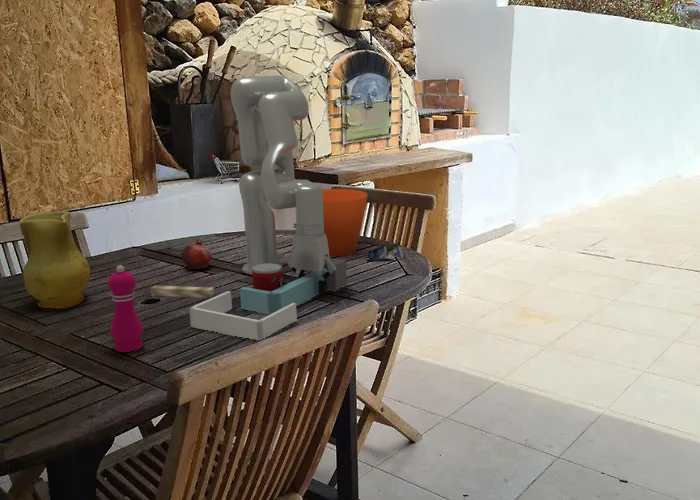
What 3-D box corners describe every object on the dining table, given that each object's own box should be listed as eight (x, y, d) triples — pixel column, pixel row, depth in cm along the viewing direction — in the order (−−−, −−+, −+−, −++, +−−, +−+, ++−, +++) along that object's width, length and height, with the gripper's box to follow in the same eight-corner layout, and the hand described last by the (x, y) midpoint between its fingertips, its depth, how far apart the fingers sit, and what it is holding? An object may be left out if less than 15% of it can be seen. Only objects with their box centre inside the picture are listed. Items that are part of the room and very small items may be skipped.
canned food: (276, 312, 185) (274, 272, 183) (249, 309, 188) (246, 270, 185) (287, 302, 192) (286, 264, 190) (261, 300, 195) (259, 262, 192)
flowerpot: (346, 264, 229) (345, 204, 224) (283, 255, 241) (280, 198, 235) (381, 246, 250) (380, 191, 245) (321, 239, 262) (319, 186, 256)
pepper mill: (116, 342, 167) (107, 261, 162) (147, 341, 167) (139, 260, 162) (109, 354, 160) (99, 270, 155) (141, 353, 160) (132, 269, 155)
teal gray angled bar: (303, 279, 213) (302, 254, 211) (346, 286, 205) (345, 260, 203) (241, 309, 188) (239, 281, 186) (287, 318, 180) (285, 289, 178)
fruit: (177, 271, 225) (174, 240, 222) (194, 263, 233) (192, 234, 231) (201, 273, 221) (199, 243, 219) (217, 265, 230) (215, 236, 227)
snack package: (390, 266, 226) (408, 257, 235) (387, 247, 225) (404, 238, 234) (359, 267, 233) (377, 258, 242) (356, 249, 232) (374, 240, 241)
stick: (214, 296, 200) (213, 287, 200) (211, 299, 198) (210, 290, 197) (155, 294, 204) (154, 285, 203) (151, 296, 201) (150, 288, 200)
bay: (229, 308, 189) (227, 291, 187) (296, 322, 178) (296, 303, 177) (190, 326, 176) (189, 307, 175) (260, 342, 165) (259, 322, 164)
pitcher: (30, 317, 185) (16, 224, 179) (25, 297, 201) (13, 212, 195) (97, 306, 193) (87, 217, 187) (88, 288, 209) (78, 205, 203)
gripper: (276, 229, 194) (279, 290, 199) (329, 235, 186) (331, 299, 190) (292, 223, 200) (294, 283, 205) (344, 229, 192) (345, 292, 197)
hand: (312, 290), depth 198 cm, fingers open, 6 cm apart
